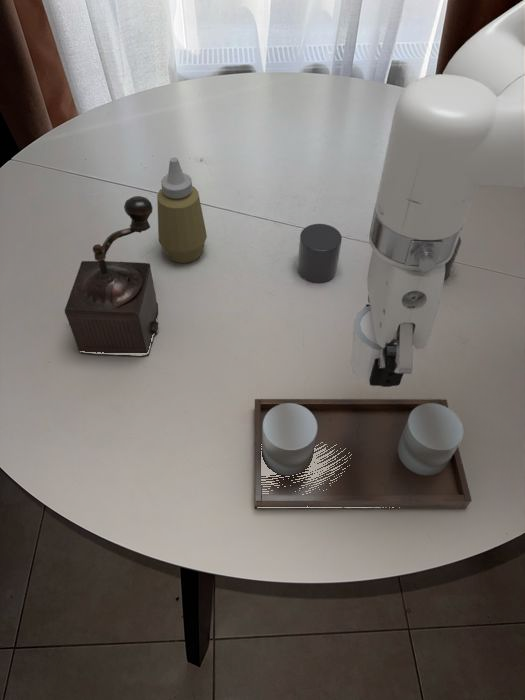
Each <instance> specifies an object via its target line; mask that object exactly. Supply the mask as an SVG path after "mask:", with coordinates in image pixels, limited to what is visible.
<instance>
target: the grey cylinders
mask: <svg viewBox="0 0 525 700" xmlns="http://www.w3.org/2000/svg"><path fill="white" fill-rule="evenodd" d="M342 241H343V239H342V234H341V232H340V231H339V230H338V229H337V228H336V227H334V226H332V225H329V224H325V223H312V224H310V225H307V226H306V227H304V228H302V230H301V232H300V234H299V243H298V244H299V245H298V257H297V266H296V267H297V272H298V275H299V277H301V278H302V279H304V280H306V281H307V282H309V283H313V284H324V283H327V282H329V281H331V280H333V279H334V277H336V275H337V271H338V265H339V258H340V254H341V253H340V252H341V247H342ZM461 244H462V239H461V235H460V236H459V239H458V242H457V245H456V248H455V250H454V253H453V255H452V257H451V259H450V260H449V261H448V262H447V263H445V277H444V282H445V281H446V280H447V279H448V278H449V276H450V274H451V272H452V268H453V266H454V263H455V261H456V257H457V255H458V252H459V249H460V247H461Z"/></svg>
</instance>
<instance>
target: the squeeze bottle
mask: <svg viewBox="0 0 525 700" xmlns="http://www.w3.org/2000/svg"><path fill="white" fill-rule="evenodd" d="M189 175H190V174H189ZM189 175H188V174H186V173H184V171H183V170H182V167H181V163H180V161H179V159H178V158H177V157H175V156H174V157H171V158H170V160H169V164H168V173H167V174H166V175H165V176H163V177H162V178H161V180H160V183H161V184H160V185H161V189H159V191H158V193H157V196H156V198H157V199H156V200H157V201H156V202H157V230H158V231H157V232H158V242H159V243H160V246H161V247H162V249H163V250H164V252H165V253H166V255H167V257H168V258H169V259H170V260H171V261H173V262H174V263H178V264H179V263H180V264H187V263H188V264H189V263H191V262H195V261H196V260H197V259H198V258H199V257H200V256H201V254H202V252H203V249H204V246H205V243H206V241H207V237H208V236H207V229H206V224H205V219H204V214H203V209H202V204H201V199H200V194H199V190H198V189H197V188H196V187H195V186H193V181H192V178H191V176H189Z"/></svg>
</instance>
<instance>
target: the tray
mask: <svg viewBox="0 0 525 700" xmlns="http://www.w3.org/2000/svg"><path fill="white" fill-rule="evenodd" d="M464 433H465V431H464V425H463V422H462V420H461V419H460V417H459V415H457V413H455V411H453V410H452V409H451V408H449V404H448V400H447V399H435V398H434V399H433V398H431V399H429V398H428V399H426V398H425V399H424V398H422V399H418V398H417V399H416V398H409V399H408V398H407V399H405V398H404V399H403V398H399V399H398V398H397V399H396V398H392V399H391V398H387V399H386V398H254V508H255V507H307V506H308V507H381V508H382V507H384V508H385V507H387V508H389V507H390V508H392V507H394V508H399V507H400V508H415V509H467V508H468V507H469V505H470V504H471V503H472V496H471V493H470V489H469V485H468V481H467V480H468V479H467V477H466V472H465V469H464V464H463V460H462V457H461V453H460V449H459V446H460V444H461V442H462V441H463V438H464ZM321 442H323V443H321ZM320 443H321V444H320ZM261 444H262V445H261ZM318 444H319V445H318ZM324 444H327V445H325V446H324V447H322V448H321V449H319V450H317V451H315V452H314V448H316V449H317V448H319V447H321V446H323V445H324ZM336 444H337V445H336ZM316 445H318V446H316ZM334 445H336V446H334ZM261 446H262V447H261ZM315 446H316V447H315ZM327 446H328V447H327ZM333 446H334V447H333ZM325 447H326V450H328V449H330V448H331V447H333V448H331V449H330V450H328V451H327V452H325V453H324V454H322V455H320V456H318V457H317V458H319V457H321V456H323V455H325V454H327V453H329V452H330V451H332V450H334V449H335V450H334V451H333V452H332V453H331V454H333V453H334V452H335V453H334V454H333V455H331V454H329V455H331V456H329V455H328V456H329V457H328V458H326V457H327V456H326V457H324V458H326V459H324V458H322V459H324V460H323V461H321V462H319V463H322V462H324V461H326V460H328V459H330V458H332V457H333V456H335V455H337V454H338V453H340V452H341V451H343V450H344V449H345V448H346V449H345V450H344V451H343V452H341V453H340V454H339V455H337V456H336V457H335V458H336V460H334V459H335V458H333V459H331V460H330V461H332V460H334V461H332V462H330V461H328V462H330V463H328V462H327V463H328V464H327V465H325V466H323V467H326V466H328V465H330V464H332V463H334V462H336V461H337V460H339V459H341V458H342V457H344V456H345V455H346V456H345V457H344V458H342V459H341V460H340V461H338V462H337V463H338V464H337V463H335V464H334V465H335V466H334V465H332V466H334V467H332V466H330V467H332V468H330V467H329V468H330V469H329V470H331V469H333V468H335V467H337V466H339V465H341V464H343V463H344V462H346V461H347V460H348V461H347V462H346V463H344V464H343V465H341V466H340V467H338V468H337V469H339V468H340V469H339V470H337V469H335V470H337V471H335V470H333V471H335V472H334V473H335V474H334V473H332V474H334V475H332V474H329V473H331V472H333V471H329V470H327V471H329V472H327V471H325V472H327V473H325V472H323V473H325V474H323V475H321V476H323V477H321V476H319V477H321V478H319V477H316V478H318V479H317V480H320V479H323V478H325V477H328V476H330V475H332V476H330V477H328V478H326V479H324V480H326V481H324V480H322V481H324V482H322V481H319V482H322V483H320V484H322V485H320V484H317V485H319V486H317V485H313V484H316V483H319V482H316V483H311V482H315V481H317V480H314V481H311V482H308V483H311V484H308V483H303V482H307V481H310V480H305V479H308V478H311V477H307V478H304V479H300V480H295V479H299V478H303V477H306V476H303V477H297V476H301V475H304V474H308V473H302V472H305V471H309V470H305V469H307V468H309V467H308V466H309V465H310V463H311V461H312V458H313V454H314V453H316V452H318V451H320V450H322V449H324V448H325ZM261 448H262V450H261ZM340 448H341V449H340ZM326 450H325V451H326ZM337 450H338V451H337ZM261 451H262V457H263V460H264V462H265V464H266V465H267V467H268V468H269V469H271V470H272V471H273V472H275V473H277V474H276V475H281V476H279V477H284V478H279V477H268V478H261V477H266V476H261ZM336 451H337V452H336ZM323 452H324V451H323ZM323 452H321V453H323ZM349 452H350V453H349ZM321 453H320V454H321ZM348 453H349V454H348ZM351 454H352V455H351ZM318 455H319V454H318ZM350 455H351V456H350ZM316 456H317V455H316ZM349 456H350V457H349ZM337 457H338V458H337ZM347 457H348V458H347ZM317 458H316V459H317ZM346 458H347V459H346ZM350 458H351V459H350ZM322 459H320V460H322ZM344 459H346V460H344ZM342 460H343V461H342ZM339 462H340V463H339ZM314 463H315V462H314ZM319 463H317V464H319ZM325 464H326V463H325ZM336 464H337V465H336ZM323 465H324V464H323ZM349 465H350V466H349ZM347 466H348V467H347ZM310 467H311V466H310ZM323 467H321V468H323ZM341 467H342V468H341ZM321 468H319V469H321ZM344 468H346V469H344ZM319 469H317V470H319ZM327 469H328V468H327ZM342 469H344V470H342ZM315 471H316V470H315ZM322 471H323V470H322ZM344 471H345V472H344ZM312 472H313V471H312ZM320 472H321V471H320ZM342 472H343V473H342ZM299 473H301V474H299ZM310 473H311V472H310ZM317 473H318V472H317ZM340 473H342V474H340ZM296 474H298V475H296ZM314 474H315V473H314ZM321 474H322V473H321ZM326 474H329V475H326ZM338 474H339V475H338ZM276 475H270V476H276ZM292 475H294V476H292ZM310 475H313V473H312V474H310ZM310 475H307V476H310ZM319 475H320V474H319ZM324 475H325V476H324ZM336 475H337V476H336ZM341 475H342V476H341ZM285 476H290V477H285ZM334 476H335V477H334ZM339 476H340V477H339ZM293 477H294V478H293ZM337 477H338V478H337ZM272 478H278V479H273V480H266V481H275V482H272V483H278V484H274V485H280V486H274V485H261V484H271V483H261V482H266V481H261V479H272ZM288 478H289V479H288ZM316 478H314V479H316ZM329 478H330V479H329ZM335 478H337V479H335ZM283 479H284V480H283ZM327 479H328V480H327ZM333 479H335V480H333ZM276 480H279V481H276ZM291 480H293V481H291ZM301 480H303V481H301ZM311 480H313V479H311ZM330 480H333V481H330ZM336 480H337V481H336ZM297 481H300V482H297ZM334 481H335V482H334ZM279 482H280V483H279ZM293 482H296V483H293ZM332 482H333V483H332ZM323 483H324V484H323ZM329 483H331V484H329ZM282 484H283V485H282ZM305 484H308V485H305ZM290 485H291V486H290ZM301 485H305V486H301ZM309 485H310V486H309ZM311 485H313V486H311ZM330 485H331V486H330ZM263 486H271V487H263ZM284 486H286V487H284ZM306 486H307V487H306ZM314 486H317V487H314ZM277 487H279V488H277ZM302 487H304V488H302ZM311 487H314V488H311ZM318 487H319V488H318ZM268 488H270V489H268ZM299 488H301V489H299ZM309 488H311V489H309ZM315 488H316V489H315ZM262 489H267V490H262ZM312 489H314V490H312ZM319 489H320V490H319ZM326 489H327V490H326ZM271 490H273V491H271ZM299 490H300V491H299ZM308 490H311V491H308ZM323 490H324V491H323ZM262 491H269V492H262ZM295 491H296V492H295ZM305 491H308V492H305ZM309 492H311V493H309ZM262 493H269V494H262ZM306 493H308V494H306ZM302 494H304V495H302Z"/></svg>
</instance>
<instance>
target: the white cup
mask: <svg viewBox="0 0 525 700" xmlns="http://www.w3.org/2000/svg"><path fill="white" fill-rule="evenodd" d="M352 330H353V331H352V343H351V359H350V366H351V371H352V373H353V374H354V376H355V377H356V379H357V380H359V381H360V382H362V383H363V384H365V385H368V386H371V387H373V388H377V387H378V388H379V387H380V388H381V387H382V386H372V385H370V382H369V379H370V375H371V372H372V368H373V364H374V361H375V359H377V358H379V350H380V345H379V344H378V343H377V341H376V336H375V331H374V326H373V320H372V314H371V308H370V306H367V307H366V306H364V307H363V308H362V309H360V311H359V312H358V313H356V316H355V318H354V321H353V329H352ZM396 337H397V333H396ZM414 349H415V345H414V342H413V344H412V352H413V351H414ZM387 356H396V346H388V350H387Z"/></svg>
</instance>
